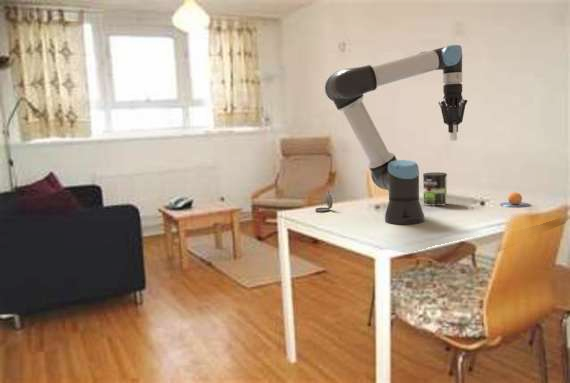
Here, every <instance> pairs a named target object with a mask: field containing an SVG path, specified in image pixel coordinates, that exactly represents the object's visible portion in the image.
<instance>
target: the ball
mask: <svg viewBox="0 0 570 383" xmlns="http://www.w3.org/2000/svg"><path fill="white" fill-rule="evenodd" d="M522 201H523V196H522V194H520V193H519V192H516V191H514V192H511V193H509V195H508V197H507V202H509V203H511V204H512V205H518V204H520V203H521V202H522Z"/></svg>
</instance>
